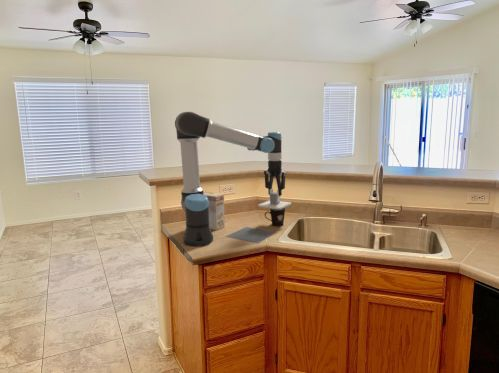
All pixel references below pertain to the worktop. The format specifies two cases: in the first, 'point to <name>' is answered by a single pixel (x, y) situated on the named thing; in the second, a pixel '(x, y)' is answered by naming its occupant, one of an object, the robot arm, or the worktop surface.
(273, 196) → the lid
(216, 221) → the coffeecake box
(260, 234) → the mat
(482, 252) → the worktop surface
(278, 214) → the coffee mug
